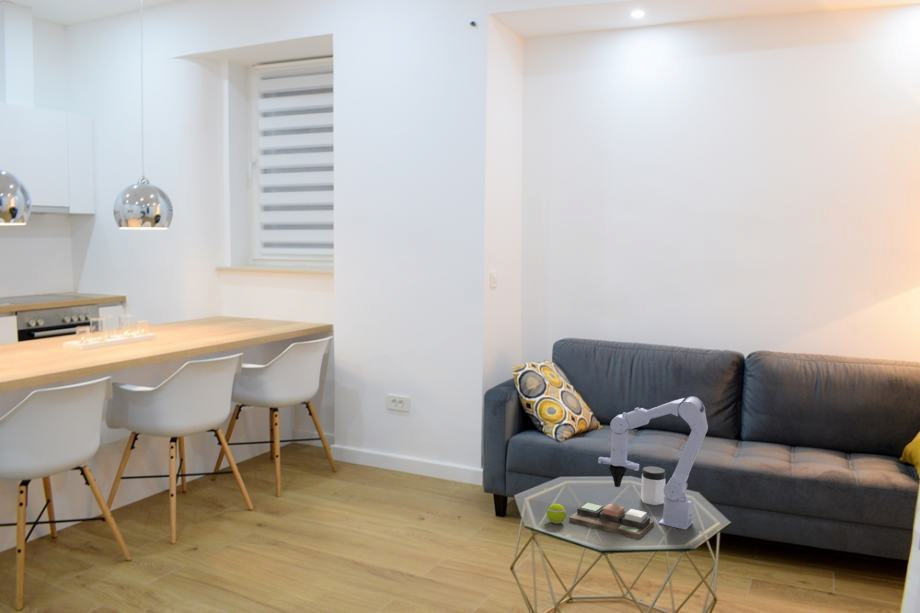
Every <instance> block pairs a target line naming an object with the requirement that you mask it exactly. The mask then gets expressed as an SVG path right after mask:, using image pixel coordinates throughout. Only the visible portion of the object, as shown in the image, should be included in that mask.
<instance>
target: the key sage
mask: <svg viewBox="0 0 920 613" xmlns="http://www.w3.org/2000/svg"><path fill="white" fill-rule="evenodd" d="M585 503H586V502H585ZM600 505H601V504H596V503H592V504H591V502H588V503H586V504H585V505H584V506H582V507H581V509H585V510H589V511H593V512H597V511H599V510H600V509H601V508H602V506H603V505H601V506H600Z"/></svg>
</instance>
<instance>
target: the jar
mask: <svg viewBox="0 0 920 613" xmlns="http://www.w3.org/2000/svg"><path fill="white" fill-rule="evenodd" d="M640 483H641V485H640V487H641V488H640V500H641V501H642V504H646V505H652V506H658V505H664V486H665V485H666V469H664V468H662V467H659V466H650V465H649V466H644V467H642V473H641V482H640Z"/></svg>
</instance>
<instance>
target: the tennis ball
mask: <svg viewBox="0 0 920 613" xmlns="http://www.w3.org/2000/svg"><path fill="white" fill-rule="evenodd" d="M566 510H567V509H565V507H564V506H563V505H562V504H560V503H552V504H550V505H549V506H548V508H547V510H546V518H547V519H548V521H549V522H550V523H552V524H554V525H559V524H562V523H563V522H564V521H566V518H567V511H566Z"/></svg>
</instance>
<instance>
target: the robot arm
mask: <svg viewBox="0 0 920 613" xmlns="http://www.w3.org/2000/svg"><path fill="white" fill-rule="evenodd" d="M670 414H671V415H673V416H676V417H679V416H680V417H681V419H682V420H684V421H685V422H686V424H688V426H689V428H690V430H691V431H690V434H689V436H688V438H687V440H686V443H685V446H684V447H683V451H682V452H681V455H680V457H679V460H678V462H677V464H676V467H675V469H674V472H673V473H672V476H671V477H670V478H669V480H668V482H667V483H665V486H664V504H663V510H662V511H663V512H662V513H663V514H662V518H661V519H660V521H658V524H659V525H665V526H669V527H672V528H675V529H680V530H681V529H682V530H688V528H689V527H690V526H691V525H692V524H693V523H694V521H693V513H694V503H693V501H691V500H688V499H687V496H686V495H685V491H686V490H687V489H688V479H689V476H690V473H691V470H692V468H693V466H694V463H695V461H696V458H697V456H698V453H699V452H700V448H701V446H702V445H703V441H704V439H705V437H706V434H707V432H708V430H709V426H708V420H707V416H706V414H707V413H706V407H705V405H704V403H703V402H702V401H701V400H700V398H698V397H697V396H688V397H683V398H679V399H675V400H671V401H670V402H666V403H664V404H660V405H658V406H657V407H656V406H655V407H653V408H649V409H646V408H644V407H635V408H634V410H631V411H629V412H626V411H623V412H622V414H617V415H616V416H615V417H613V418H612V420H611V421H610V423H609V424H610V425H609V426H610V429H611V440H610V441H611V442H610V457H606V456H599V457H598V459H597V463H598V464H600V465H601V464H603V465H604V464H605V465H609V468H608V470H609V472H610V474H611V476H612V480H613V484H614V488H615V487H616V488H619V487H621V485H622V480H623V478H624V475H625V473H626V472H627V470H628V469H629V470H634V471H637V472H638V471H639V470H640V464H639V463H636V462H634V461H630V460H628V446H629V430H632V429H635V428H639V427H641V426H646V425H648V424H649V422H650V421H651V420H652V419H656V418H660V417H663V416H667V415H670Z"/></svg>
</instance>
